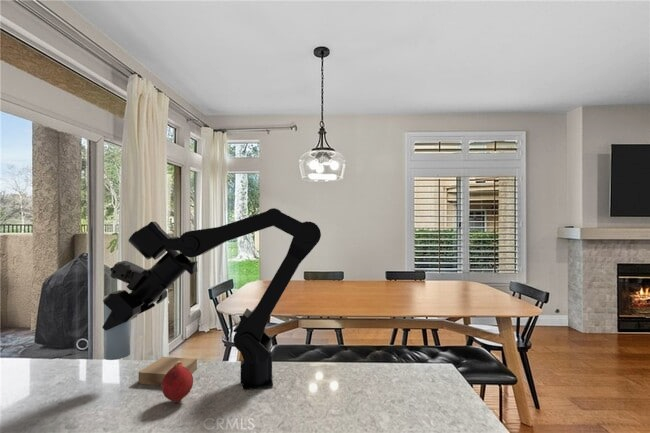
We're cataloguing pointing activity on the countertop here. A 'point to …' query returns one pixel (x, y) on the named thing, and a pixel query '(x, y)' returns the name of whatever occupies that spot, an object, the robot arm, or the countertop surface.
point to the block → (163, 369)
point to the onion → (177, 382)
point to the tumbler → (116, 339)
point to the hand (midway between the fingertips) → (111, 325)
